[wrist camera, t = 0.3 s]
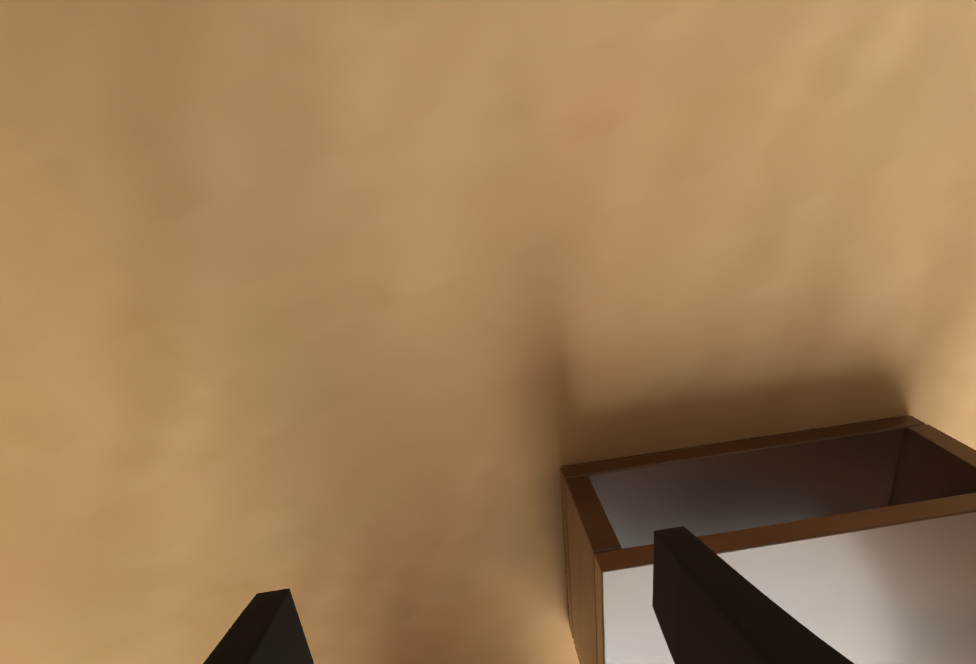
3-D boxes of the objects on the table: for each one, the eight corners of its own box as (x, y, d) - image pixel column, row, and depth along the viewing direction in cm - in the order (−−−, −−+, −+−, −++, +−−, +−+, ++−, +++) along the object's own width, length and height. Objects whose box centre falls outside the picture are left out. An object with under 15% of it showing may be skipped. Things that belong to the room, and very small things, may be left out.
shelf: (873, 575, 25) (988, 686, 20) (568, 626, 24) (605, 756, 19) (910, 414, 22) (1062, 496, 16) (559, 466, 21) (601, 571, 15)
